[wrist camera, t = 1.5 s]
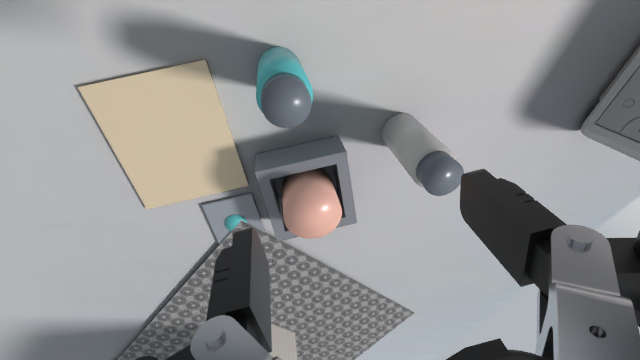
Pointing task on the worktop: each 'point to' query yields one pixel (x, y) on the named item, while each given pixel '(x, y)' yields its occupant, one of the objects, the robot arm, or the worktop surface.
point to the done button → (310, 204)
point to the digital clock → (619, 111)
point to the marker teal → (283, 88)
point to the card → (232, 214)
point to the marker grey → (422, 154)
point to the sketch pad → (168, 133)
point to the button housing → (299, 159)
